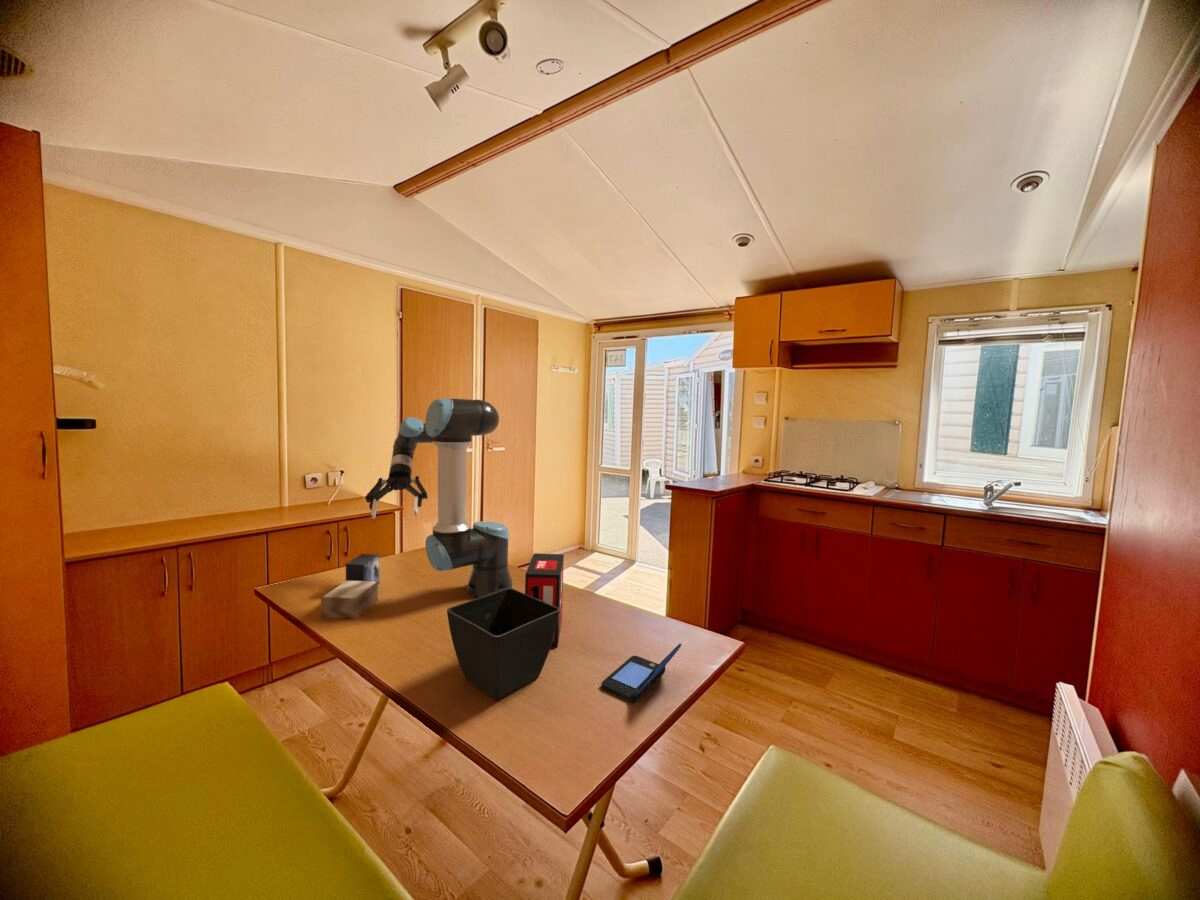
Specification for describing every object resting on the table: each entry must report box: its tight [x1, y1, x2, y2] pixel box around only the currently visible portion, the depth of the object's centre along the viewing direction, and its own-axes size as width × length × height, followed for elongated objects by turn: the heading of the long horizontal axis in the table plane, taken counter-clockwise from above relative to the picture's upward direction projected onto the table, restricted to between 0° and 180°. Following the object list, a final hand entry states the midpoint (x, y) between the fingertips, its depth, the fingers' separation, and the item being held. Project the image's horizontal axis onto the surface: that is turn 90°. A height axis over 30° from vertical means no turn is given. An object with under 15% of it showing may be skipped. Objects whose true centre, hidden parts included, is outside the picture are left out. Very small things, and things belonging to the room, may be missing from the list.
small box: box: [345, 553, 380, 585], centre depth 153 cm, size 11×6×10 cm, turn 179°
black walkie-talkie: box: [600, 643, 682, 704], centre depth 106 cm, size 16×13×9 cm
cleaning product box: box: [524, 552, 565, 649], centre depth 128 cm, size 16×9×20 cm, turn 1°
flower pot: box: [446, 587, 560, 700], centre depth 106 cm, size 19×19×17 cm
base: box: [320, 580, 379, 620], centre depth 138 cm, size 10×13×6 cm
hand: (394, 515), depth 156 cm, fingers open, 13 cm apart
